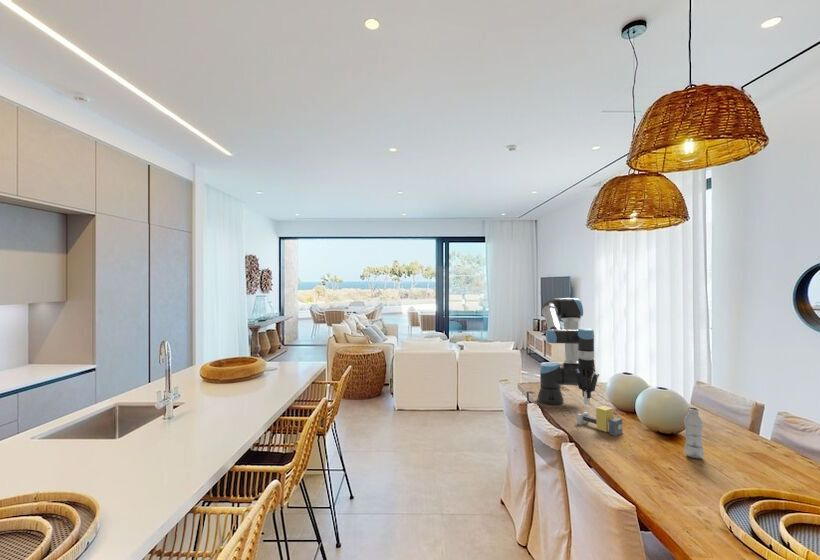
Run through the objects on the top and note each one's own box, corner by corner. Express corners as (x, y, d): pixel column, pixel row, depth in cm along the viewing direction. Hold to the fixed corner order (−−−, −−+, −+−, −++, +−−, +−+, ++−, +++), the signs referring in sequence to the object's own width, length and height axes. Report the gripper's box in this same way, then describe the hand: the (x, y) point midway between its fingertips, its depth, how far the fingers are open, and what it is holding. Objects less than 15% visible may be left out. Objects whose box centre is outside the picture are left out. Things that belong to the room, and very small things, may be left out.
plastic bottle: (700, 454, 160) (698, 407, 160) (706, 461, 154) (705, 412, 154) (682, 452, 162) (681, 405, 162) (688, 459, 156) (686, 410, 156)
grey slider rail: (585, 421, 201) (585, 407, 201) (624, 433, 183) (624, 419, 183) (577, 423, 197) (576, 410, 197) (616, 437, 180) (615, 422, 180)
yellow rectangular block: (603, 426, 192) (603, 405, 192) (613, 429, 187) (613, 408, 188) (596, 428, 189) (596, 407, 189) (606, 431, 184) (605, 410, 184)
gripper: (570, 357, 200) (571, 401, 201) (593, 361, 189) (594, 408, 189) (579, 355, 204) (580, 399, 204) (602, 359, 193) (603, 406, 193)
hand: (586, 403), depth 197 cm, fingers closed
